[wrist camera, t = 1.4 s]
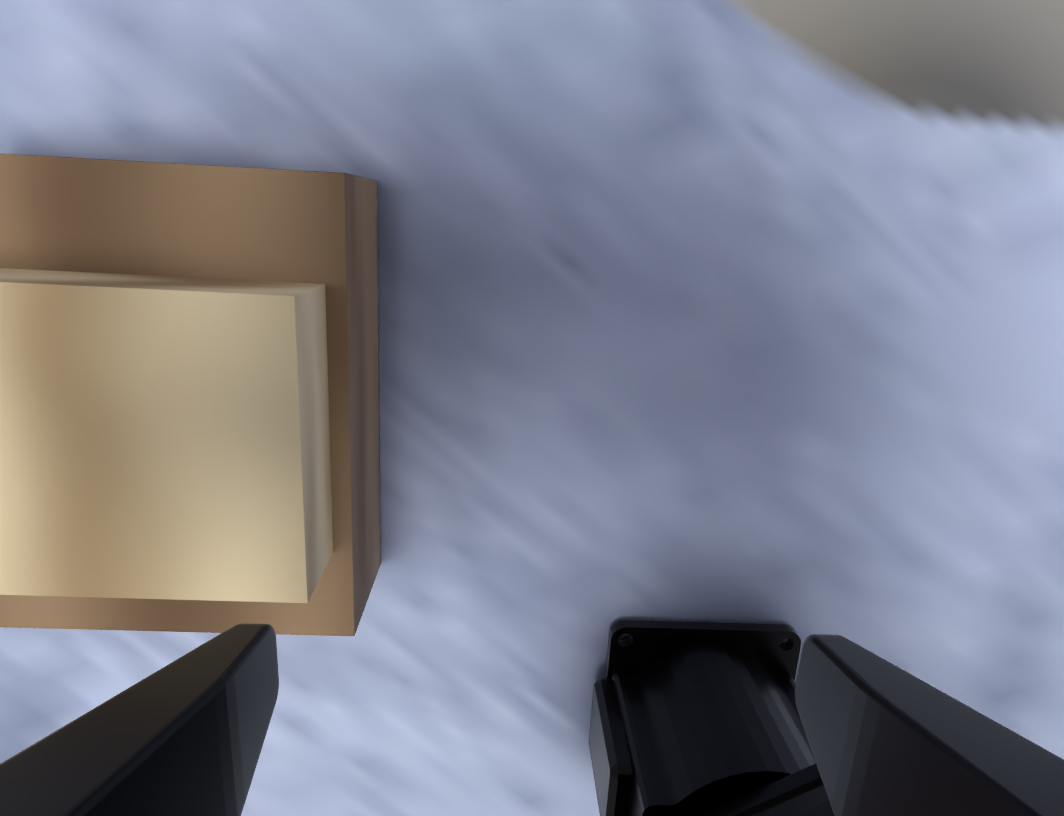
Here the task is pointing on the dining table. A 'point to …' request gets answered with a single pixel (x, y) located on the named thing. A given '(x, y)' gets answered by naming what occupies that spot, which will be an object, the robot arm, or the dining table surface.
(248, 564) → the birch tile
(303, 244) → the brown wooden block
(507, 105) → the dining table surface
